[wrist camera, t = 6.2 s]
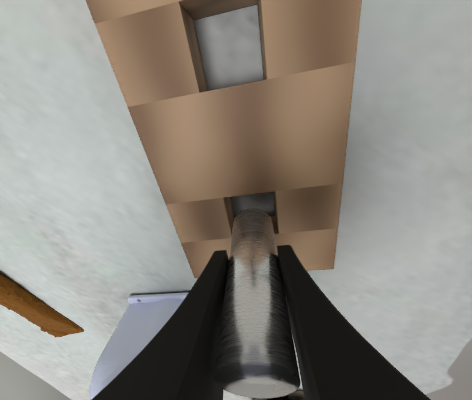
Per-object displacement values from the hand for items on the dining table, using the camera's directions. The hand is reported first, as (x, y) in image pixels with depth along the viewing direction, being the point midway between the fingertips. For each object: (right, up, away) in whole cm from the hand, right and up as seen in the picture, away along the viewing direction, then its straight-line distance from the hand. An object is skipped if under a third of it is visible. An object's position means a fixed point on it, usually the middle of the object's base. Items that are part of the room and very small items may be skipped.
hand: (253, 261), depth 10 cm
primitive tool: (-28, -9, +15) cm, 33 cm away
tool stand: (0, +8, +4) cm, 8 cm away
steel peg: (0, +2, +3) cm, 3 cm away
